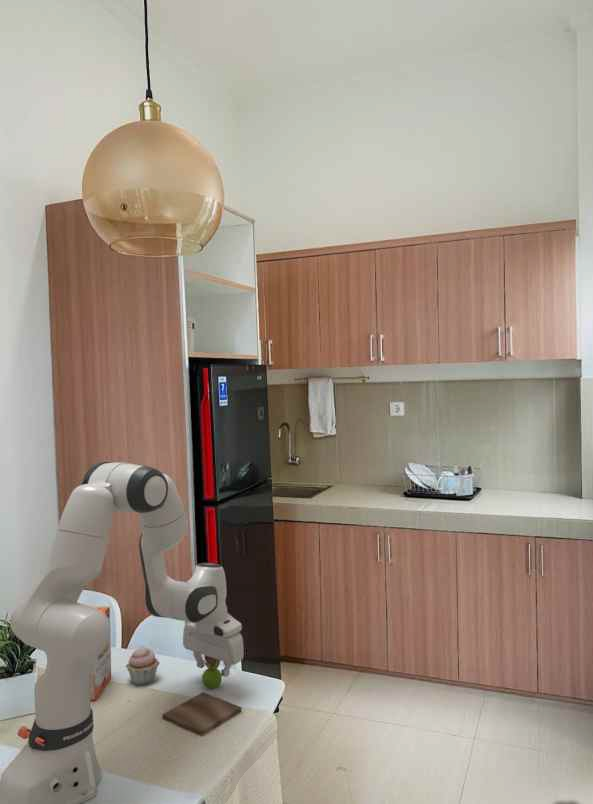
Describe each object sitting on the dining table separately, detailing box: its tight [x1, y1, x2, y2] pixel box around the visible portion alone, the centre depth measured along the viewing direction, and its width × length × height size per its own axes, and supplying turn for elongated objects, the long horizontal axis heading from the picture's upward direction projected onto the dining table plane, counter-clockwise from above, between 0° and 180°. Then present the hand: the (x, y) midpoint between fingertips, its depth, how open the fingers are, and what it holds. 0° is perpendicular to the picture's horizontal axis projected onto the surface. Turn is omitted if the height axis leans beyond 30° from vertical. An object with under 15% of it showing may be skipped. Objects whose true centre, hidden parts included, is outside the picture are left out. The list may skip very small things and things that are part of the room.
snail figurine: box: [201, 655, 223, 690], centre depth 180 cm, size 5×6×12 cm
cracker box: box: [90, 605, 112, 701], centre depth 182 cm, size 14×6×21 cm, turn 179°
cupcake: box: [125, 644, 160, 686], centre depth 186 cm, size 9×9×10 cm
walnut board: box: [162, 691, 242, 737], centre depth 166 cm, size 14×14×1 cm
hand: (213, 671), depth 180 cm, fingers open, 8 cm apart
